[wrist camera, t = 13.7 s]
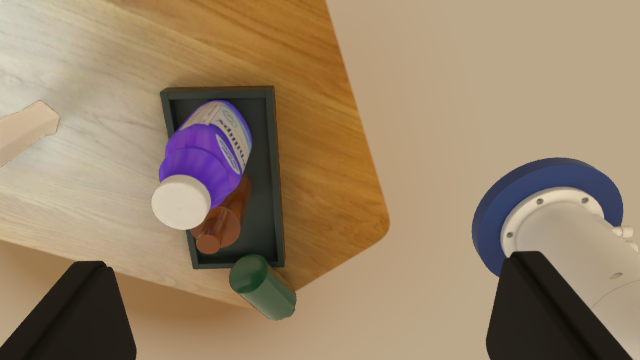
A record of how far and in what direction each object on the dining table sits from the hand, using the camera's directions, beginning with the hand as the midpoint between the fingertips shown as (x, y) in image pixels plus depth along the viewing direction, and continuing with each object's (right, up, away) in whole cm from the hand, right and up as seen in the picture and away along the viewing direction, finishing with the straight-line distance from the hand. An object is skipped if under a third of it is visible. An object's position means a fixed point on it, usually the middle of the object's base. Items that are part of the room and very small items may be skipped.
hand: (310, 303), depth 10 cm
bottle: (-10, +9, +35) cm, 38 cm away
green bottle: (-8, -8, +37) cm, 39 cm away
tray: (-10, +3, +39) cm, 40 cm away
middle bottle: (-10, +2, +38) cm, 40 cm away
